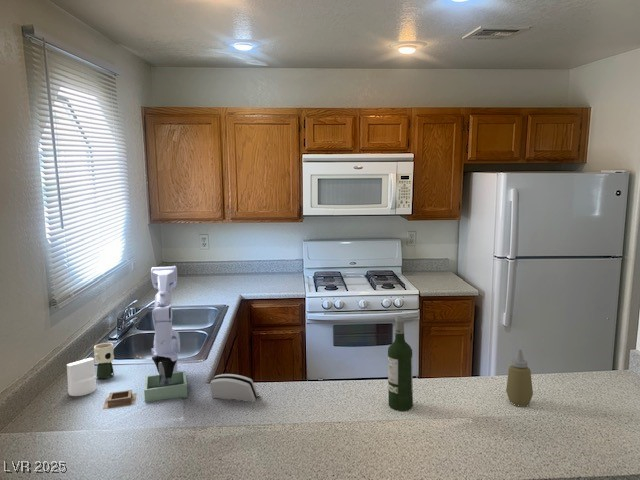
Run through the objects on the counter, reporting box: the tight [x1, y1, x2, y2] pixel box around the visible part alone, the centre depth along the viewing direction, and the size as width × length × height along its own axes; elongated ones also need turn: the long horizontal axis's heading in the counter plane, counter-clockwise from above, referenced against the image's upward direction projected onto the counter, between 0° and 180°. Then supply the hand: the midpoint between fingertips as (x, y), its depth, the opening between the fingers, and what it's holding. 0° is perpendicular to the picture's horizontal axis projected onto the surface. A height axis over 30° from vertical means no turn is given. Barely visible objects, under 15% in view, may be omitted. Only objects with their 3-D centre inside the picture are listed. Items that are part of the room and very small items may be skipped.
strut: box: [158, 361, 171, 386], centre depth 162 cm, size 4×4×8 cm
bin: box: [143, 370, 188, 403], centre depth 163 cm, size 14×14×5 cm
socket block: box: [102, 389, 138, 410], centre depth 155 cm, size 10×10×3 cm
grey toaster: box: [209, 373, 260, 402], centre depth 157 cm, size 17×5×10 cm, turn 74°
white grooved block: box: [66, 357, 97, 397], centre depth 164 cm, size 9×9×12 cm
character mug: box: [93, 342, 115, 379], centre depth 180 cm, size 11×7×13 cm, turn 172°
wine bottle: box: [387, 315, 414, 412], centre depth 147 cm, size 8×8×30 cm
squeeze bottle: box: [505, 349, 534, 407], centre depth 147 cm, size 8×8×18 cm
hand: (165, 376), depth 162 cm, fingers closed on strut, 4 cm apart
